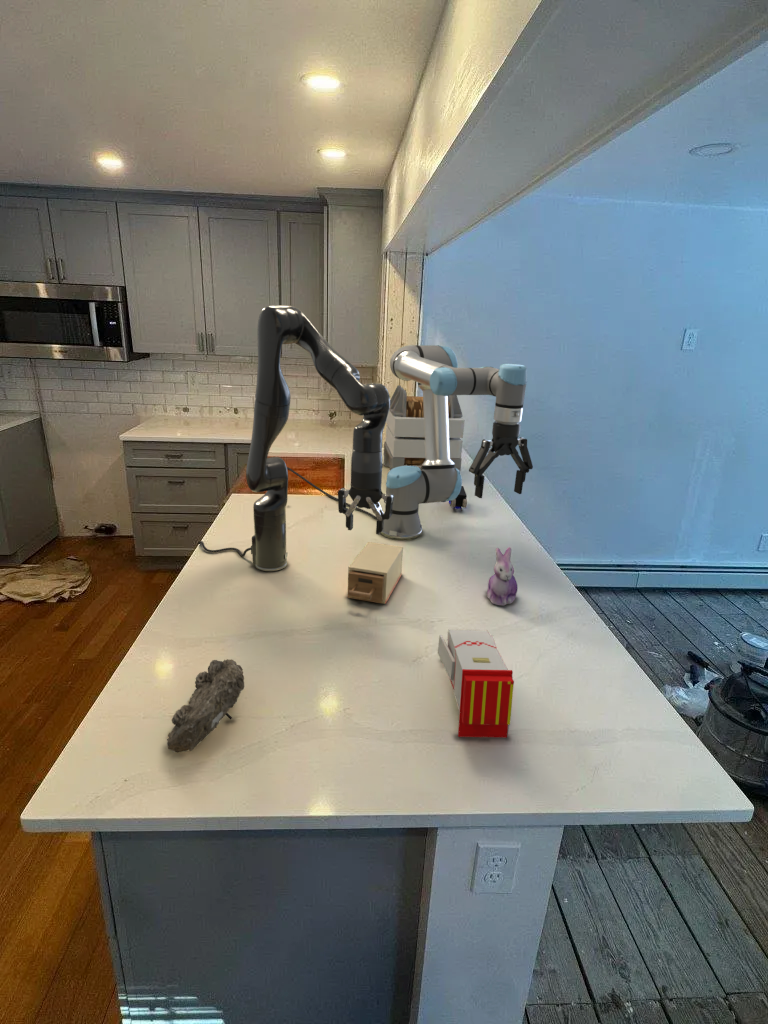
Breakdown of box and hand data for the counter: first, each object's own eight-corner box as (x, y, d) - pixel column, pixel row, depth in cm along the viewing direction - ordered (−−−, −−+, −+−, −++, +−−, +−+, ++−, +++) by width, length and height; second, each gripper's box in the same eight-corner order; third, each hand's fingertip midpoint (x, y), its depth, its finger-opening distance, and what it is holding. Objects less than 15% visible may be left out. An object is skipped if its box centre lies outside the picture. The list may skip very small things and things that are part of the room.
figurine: (499, 610, 151) (506, 558, 146) (476, 593, 160) (482, 544, 155) (527, 603, 156) (534, 553, 151) (503, 587, 164) (509, 539, 159)
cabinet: (385, 604, 152) (387, 573, 149) (347, 597, 155) (348, 566, 152) (401, 575, 169) (403, 546, 166) (367, 569, 172) (368, 541, 168)
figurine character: (467, 516, 223) (461, 500, 237) (469, 499, 220) (463, 483, 233) (450, 516, 223) (446, 499, 236) (452, 498, 220) (447, 483, 233)
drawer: (376, 613, 146) (377, 587, 143) (341, 607, 148) (341, 581, 145) (397, 576, 166) (398, 553, 164) (366, 571, 169) (367, 548, 166)
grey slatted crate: (382, 463, 289) (386, 382, 275) (445, 464, 293) (451, 384, 279) (390, 482, 257) (394, 392, 243) (460, 483, 261) (468, 394, 247)
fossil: (192, 660, 117) (244, 628, 112) (224, 691, 120) (276, 661, 115) (142, 746, 98) (202, 712, 93) (182, 779, 101) (242, 748, 96)
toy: (488, 613, 130) (523, 677, 101) (484, 667, 133) (517, 744, 104) (435, 612, 130) (455, 676, 101) (432, 666, 133) (451, 743, 103)
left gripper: (333, 468, 135) (332, 532, 141) (391, 475, 132) (388, 540, 137) (343, 460, 142) (342, 522, 148) (399, 467, 139) (395, 530, 144)
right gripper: (475, 426, 149) (468, 502, 156) (552, 423, 158) (541, 494, 166) (461, 420, 155) (454, 494, 163) (535, 417, 165) (525, 487, 172)
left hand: (364, 531), depth 142 cm, fingers open, 7 cm apart
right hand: (498, 494), depth 164 cm, fingers open, 13 cm apart
